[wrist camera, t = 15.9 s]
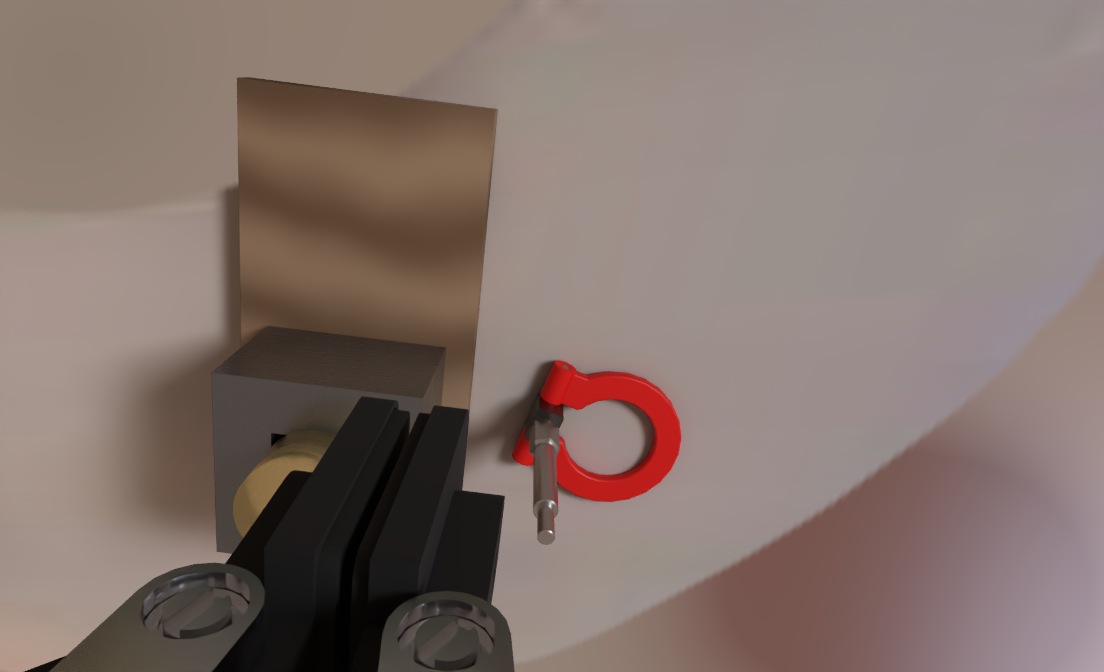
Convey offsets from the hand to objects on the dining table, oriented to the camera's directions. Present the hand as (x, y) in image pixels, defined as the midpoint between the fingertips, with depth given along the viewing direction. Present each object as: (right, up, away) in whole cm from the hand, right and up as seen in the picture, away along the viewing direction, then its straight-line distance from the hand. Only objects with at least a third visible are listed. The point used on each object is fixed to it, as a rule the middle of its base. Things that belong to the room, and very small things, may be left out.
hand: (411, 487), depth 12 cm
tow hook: (+5, -3, +34) cm, 35 cm away
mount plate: (-9, +3, +32) cm, 33 cm away
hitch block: (-9, -2, +32) cm, 34 cm away
